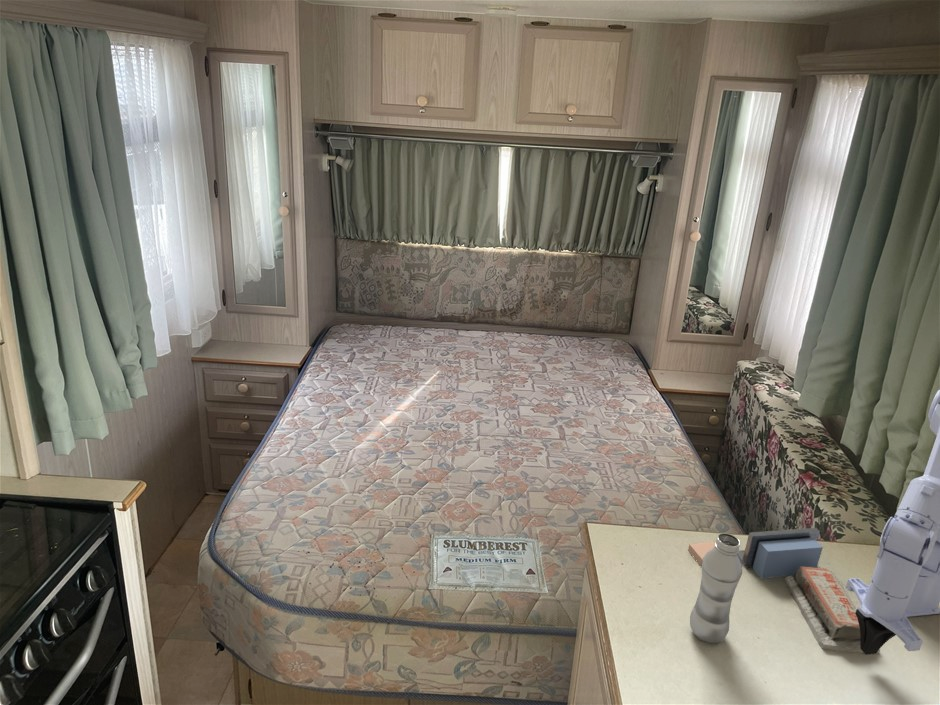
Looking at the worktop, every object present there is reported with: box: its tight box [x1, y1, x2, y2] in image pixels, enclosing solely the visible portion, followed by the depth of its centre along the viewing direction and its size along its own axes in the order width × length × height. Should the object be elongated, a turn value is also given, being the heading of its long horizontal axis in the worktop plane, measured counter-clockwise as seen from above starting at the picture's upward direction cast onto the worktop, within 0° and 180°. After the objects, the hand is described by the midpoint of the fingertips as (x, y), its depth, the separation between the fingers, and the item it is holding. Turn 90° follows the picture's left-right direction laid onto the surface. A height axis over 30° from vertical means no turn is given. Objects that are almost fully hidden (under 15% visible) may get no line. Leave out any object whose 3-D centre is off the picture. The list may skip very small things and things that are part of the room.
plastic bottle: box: [689, 532, 743, 644], centre depth 117 cm, size 6×7×20 cm
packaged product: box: [784, 567, 881, 655], centre depth 126 cm, size 18×5×10 cm
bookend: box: [737, 527, 821, 568], centre depth 140 cm, size 15×4×8 cm, turn 101°
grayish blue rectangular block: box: [752, 538, 824, 579], centre depth 137 cm, size 12×3×6 cm, turn 101°
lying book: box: [687, 540, 738, 567], centre depth 141 cm, size 8×5×2 cm, turn 103°
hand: (868, 651), depth 115 cm, fingers closed
